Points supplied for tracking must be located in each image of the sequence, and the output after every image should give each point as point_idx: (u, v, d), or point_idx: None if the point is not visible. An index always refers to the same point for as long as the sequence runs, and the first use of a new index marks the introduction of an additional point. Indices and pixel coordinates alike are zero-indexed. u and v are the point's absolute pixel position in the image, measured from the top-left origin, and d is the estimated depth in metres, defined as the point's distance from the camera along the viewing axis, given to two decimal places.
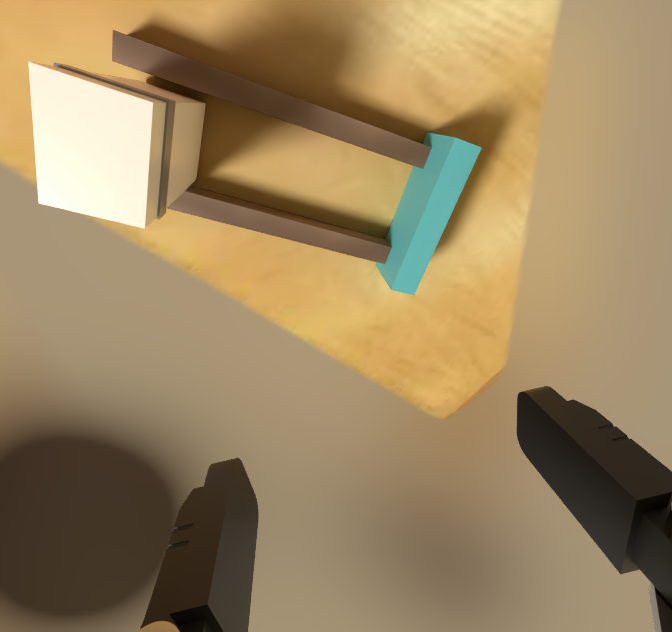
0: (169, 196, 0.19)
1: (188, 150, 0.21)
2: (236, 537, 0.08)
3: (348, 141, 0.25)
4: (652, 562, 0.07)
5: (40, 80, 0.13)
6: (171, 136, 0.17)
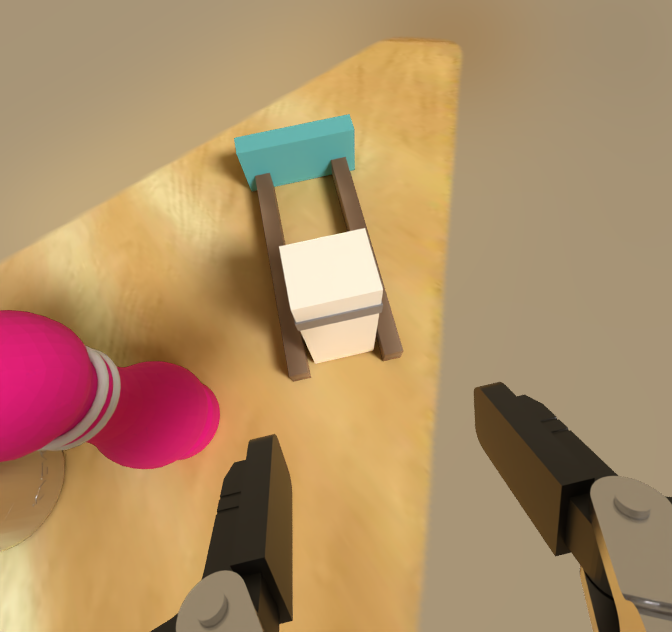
0: None
1: None
2: (279, 505, 0.09)
3: (278, 221, 0.33)
4: (577, 543, 0.07)
5: (298, 302, 0.19)
6: None
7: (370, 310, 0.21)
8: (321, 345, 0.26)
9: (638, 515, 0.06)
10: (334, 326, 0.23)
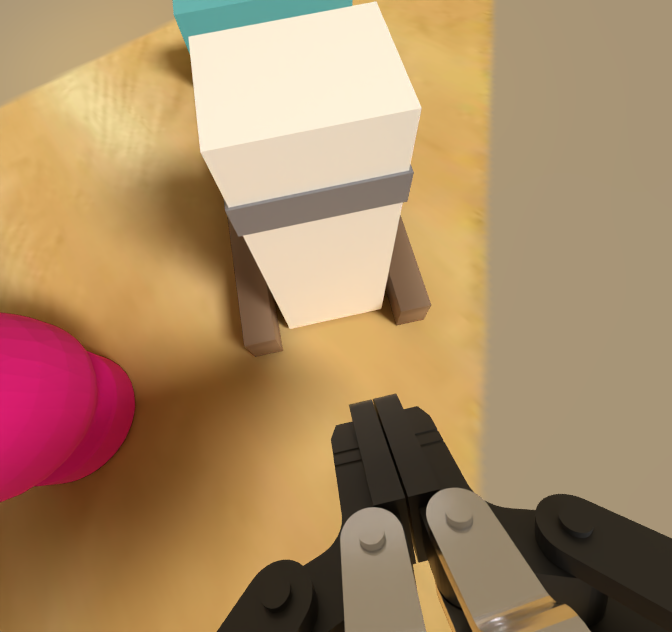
0: None
1: None
2: None
3: None
4: (427, 551, 0.08)
5: (220, 136, 0.08)
6: None
7: (386, 188, 0.10)
8: (294, 286, 0.15)
9: (459, 526, 0.06)
10: (313, 236, 0.12)
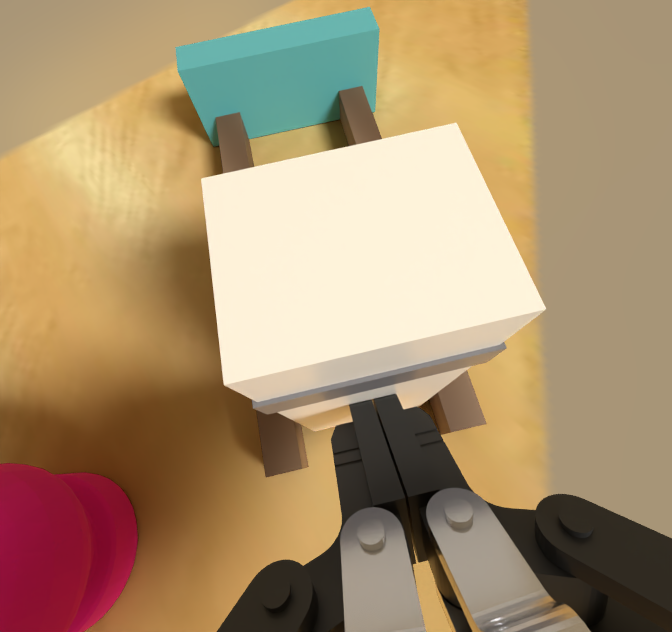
0: None
1: None
2: None
3: None
4: (427, 551, 0.08)
5: (251, 356, 0.05)
6: None
7: (465, 361, 0.08)
8: (326, 416, 0.12)
9: (459, 526, 0.06)
10: (360, 393, 0.09)
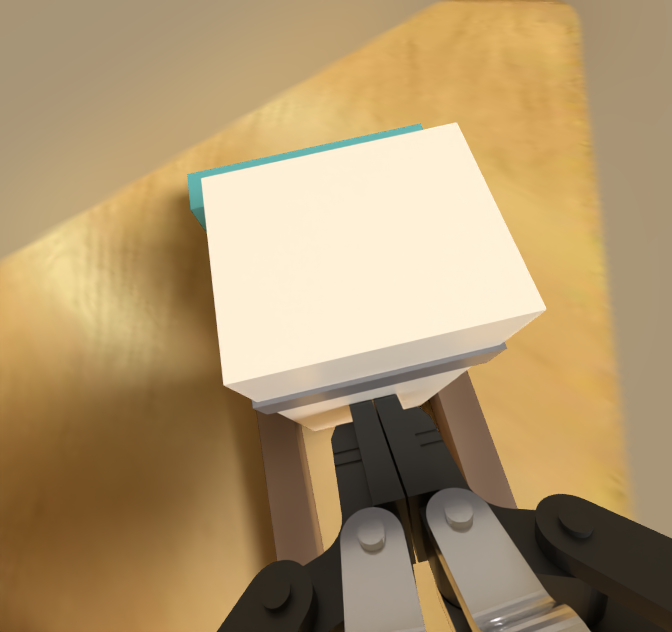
0: None
1: None
2: None
3: None
4: (427, 551, 0.08)
5: (251, 357, 0.05)
6: None
7: (466, 361, 0.08)
8: (326, 416, 0.12)
9: (458, 526, 0.06)
10: (360, 393, 0.09)
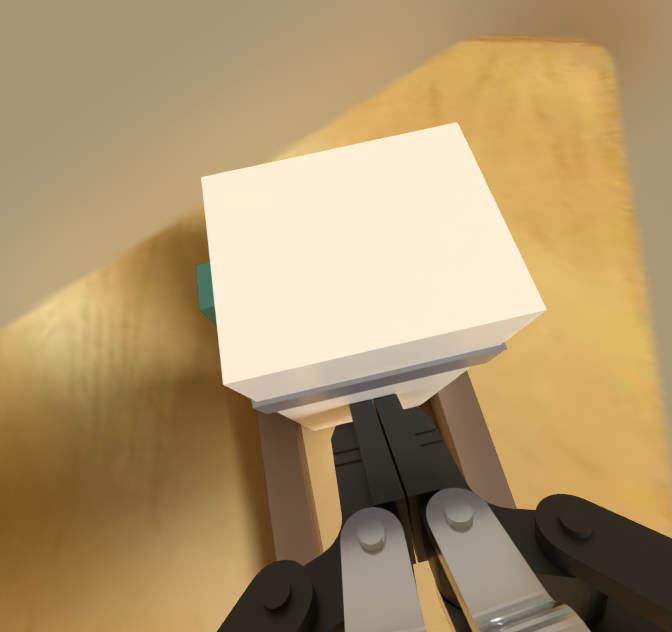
0: None
1: None
2: None
3: (297, 455, 0.15)
4: (427, 551, 0.08)
5: (251, 356, 0.05)
6: None
7: (465, 361, 0.08)
8: (326, 416, 0.12)
9: (458, 526, 0.06)
10: (359, 394, 0.09)
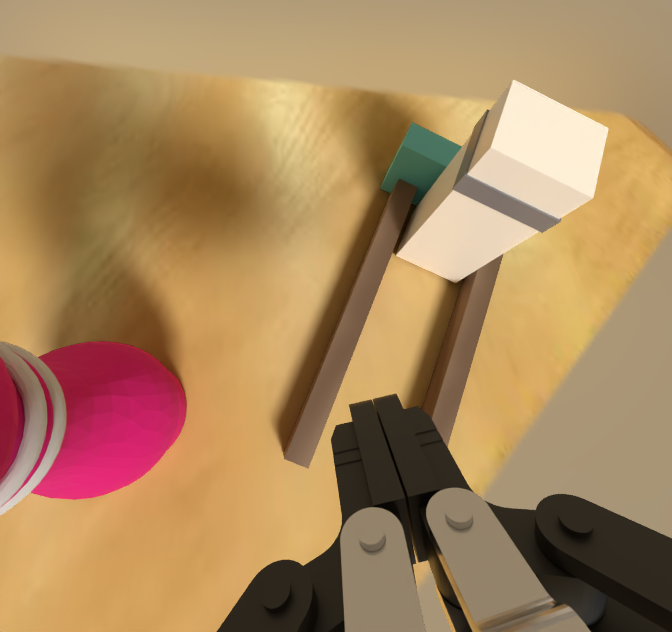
0: None
1: None
2: None
3: (389, 255, 0.25)
4: (427, 551, 0.08)
5: (502, 146, 0.15)
6: None
7: (540, 219, 0.18)
8: (435, 233, 0.22)
9: (459, 526, 0.06)
10: (481, 215, 0.19)
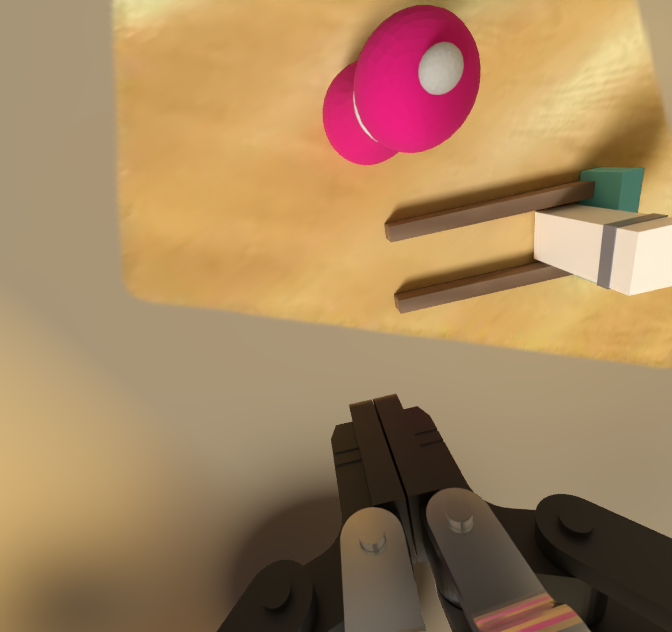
0: None
1: None
2: None
3: (536, 209, 0.35)
4: (427, 551, 0.08)
5: (642, 237, 0.26)
6: None
7: (605, 279, 0.30)
8: (567, 228, 0.33)
9: (458, 526, 0.06)
10: (592, 248, 0.30)
